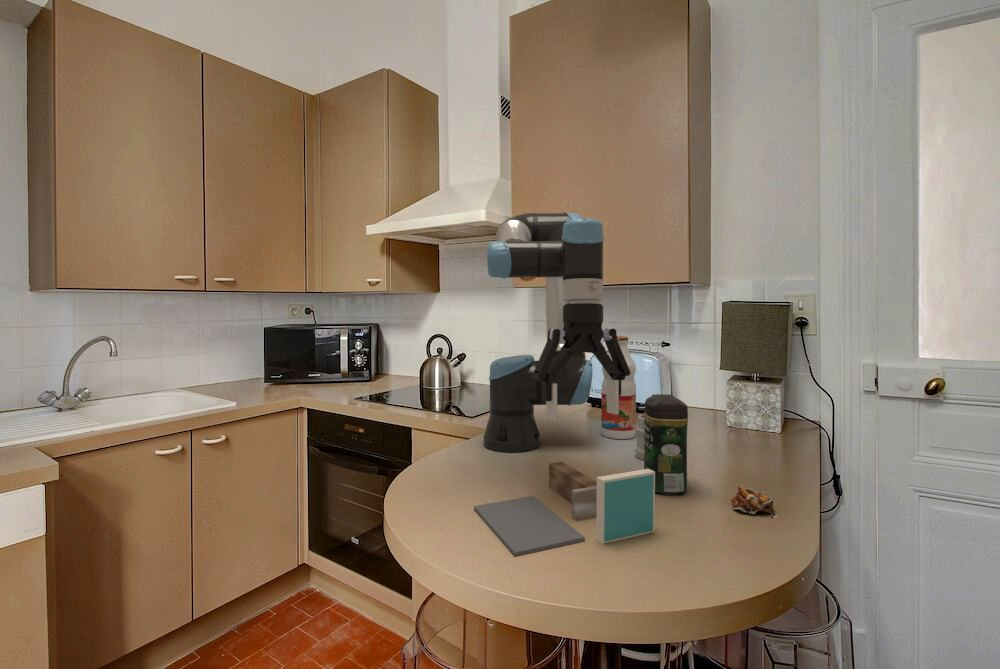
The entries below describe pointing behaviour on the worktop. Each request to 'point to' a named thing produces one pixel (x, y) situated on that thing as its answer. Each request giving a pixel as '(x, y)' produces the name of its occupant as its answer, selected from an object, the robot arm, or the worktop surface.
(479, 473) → the worktop surface
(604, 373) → the fruit juice
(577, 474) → the scraper
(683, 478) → the coffee jar
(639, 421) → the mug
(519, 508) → the mat
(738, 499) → the pastry
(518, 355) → the robot arm
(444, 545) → the worktop surface
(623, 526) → the tile
